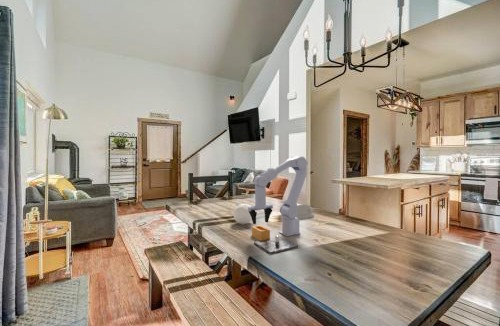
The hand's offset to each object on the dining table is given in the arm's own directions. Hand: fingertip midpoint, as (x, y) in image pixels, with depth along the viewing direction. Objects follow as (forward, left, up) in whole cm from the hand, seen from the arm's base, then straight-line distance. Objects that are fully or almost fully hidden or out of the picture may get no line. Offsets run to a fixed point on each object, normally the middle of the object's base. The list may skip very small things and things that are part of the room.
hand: (260, 222), depth 136 cm
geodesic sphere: (-4, -29, -8) cm, 30 cm away
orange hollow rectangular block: (0, 0, -8) cm, 8 cm away
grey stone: (-47, -23, -8) cm, 53 cm away
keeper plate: (0, +15, -8) cm, 16 cm away
